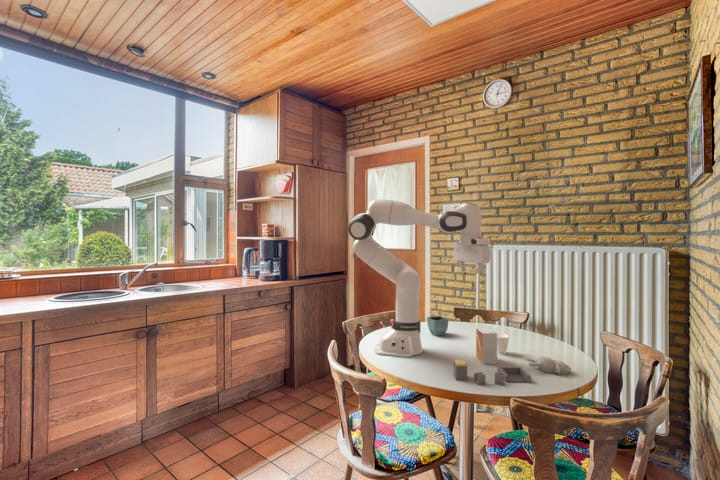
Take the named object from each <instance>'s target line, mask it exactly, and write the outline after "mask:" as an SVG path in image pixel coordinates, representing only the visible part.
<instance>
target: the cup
mask: <svg viewBox="0 0 720 480" xmlns="http://www.w3.org/2000/svg"><path fill="white" fill-rule="evenodd" d="M509 340H510V336H509V335H508V334H504V333H497V355H500V356H501V355H502V356H503V355H506V354H507V350H508V346H509Z"/></svg>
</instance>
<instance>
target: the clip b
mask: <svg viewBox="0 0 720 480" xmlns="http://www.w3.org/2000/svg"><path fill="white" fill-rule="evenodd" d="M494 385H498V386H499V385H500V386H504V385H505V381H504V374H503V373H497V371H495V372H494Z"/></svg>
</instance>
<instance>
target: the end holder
mask: <svg viewBox="0 0 720 480" xmlns="http://www.w3.org/2000/svg"><path fill="white" fill-rule="evenodd" d="M496 372H497V373H503V374H504V383H515V384H516V383H522V384H524V383H525V384H529V383H530V384H531V383H532V381H531V380H532V378H531V377H532V376H531V375H530V373H528V372H527V371H526V370H525V369H524V368H523V367H522V366H503V365H502V366H501V365H497V366H496Z"/></svg>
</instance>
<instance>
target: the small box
mask: <svg viewBox="0 0 720 480" xmlns="http://www.w3.org/2000/svg"><path fill="white" fill-rule="evenodd" d="M475 332H476V335H475V336H476V338H475V341H476V343H475V348H476V349H475V351H476V352H475V353H476V355H475V356H476V357H475V358H477V359H478V360H479V362H481V364H482V365H495V364H496V365H497V364H498V354H497V334H498V333H497V332H495V331H494V330H493V329H491V328H490V327H489V328H488V327H487V328H485V327H484V328H483V327H481V328H480V327H479V328H476V330H475Z"/></svg>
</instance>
